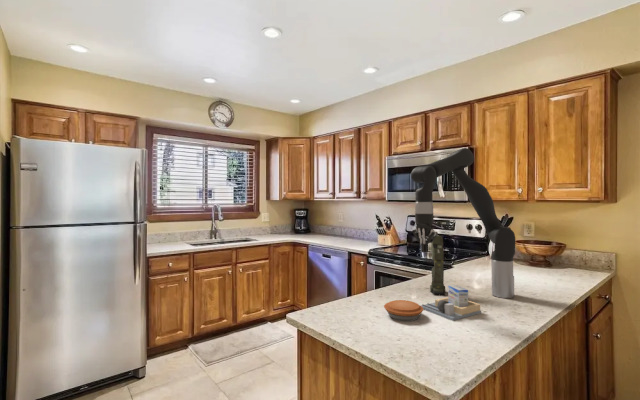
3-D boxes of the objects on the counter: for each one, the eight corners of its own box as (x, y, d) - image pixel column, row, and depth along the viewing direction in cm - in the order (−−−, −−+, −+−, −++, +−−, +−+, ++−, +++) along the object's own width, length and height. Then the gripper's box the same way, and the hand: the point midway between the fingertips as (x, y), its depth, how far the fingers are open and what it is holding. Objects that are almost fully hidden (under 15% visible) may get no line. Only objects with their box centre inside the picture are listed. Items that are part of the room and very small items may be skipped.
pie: (395, 325, 123) (395, 311, 123) (378, 311, 138) (377, 299, 138) (431, 320, 127) (431, 308, 127) (410, 308, 142) (410, 296, 142)
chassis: (447, 301, 150) (447, 290, 150) (481, 313, 135) (480, 300, 135) (420, 307, 142) (419, 296, 142) (452, 320, 127) (452, 307, 127)
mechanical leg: (448, 296, 155) (445, 233, 162) (432, 295, 157) (430, 233, 164) (443, 294, 168) (441, 236, 175) (429, 294, 170) (427, 236, 177)
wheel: (445, 309, 136) (444, 299, 136) (450, 311, 133) (450, 300, 133) (437, 311, 134) (437, 300, 134) (442, 313, 131) (442, 302, 131)
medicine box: (447, 305, 142) (447, 285, 142) (457, 304, 143) (457, 284, 143) (458, 311, 134) (458, 290, 134) (468, 310, 135) (468, 289, 135)
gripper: (406, 212, 146) (407, 251, 146) (429, 213, 135) (430, 255, 135) (419, 211, 150) (419, 249, 150) (442, 212, 138) (443, 253, 138)
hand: (424, 252), depth 142 cm, fingers closed
